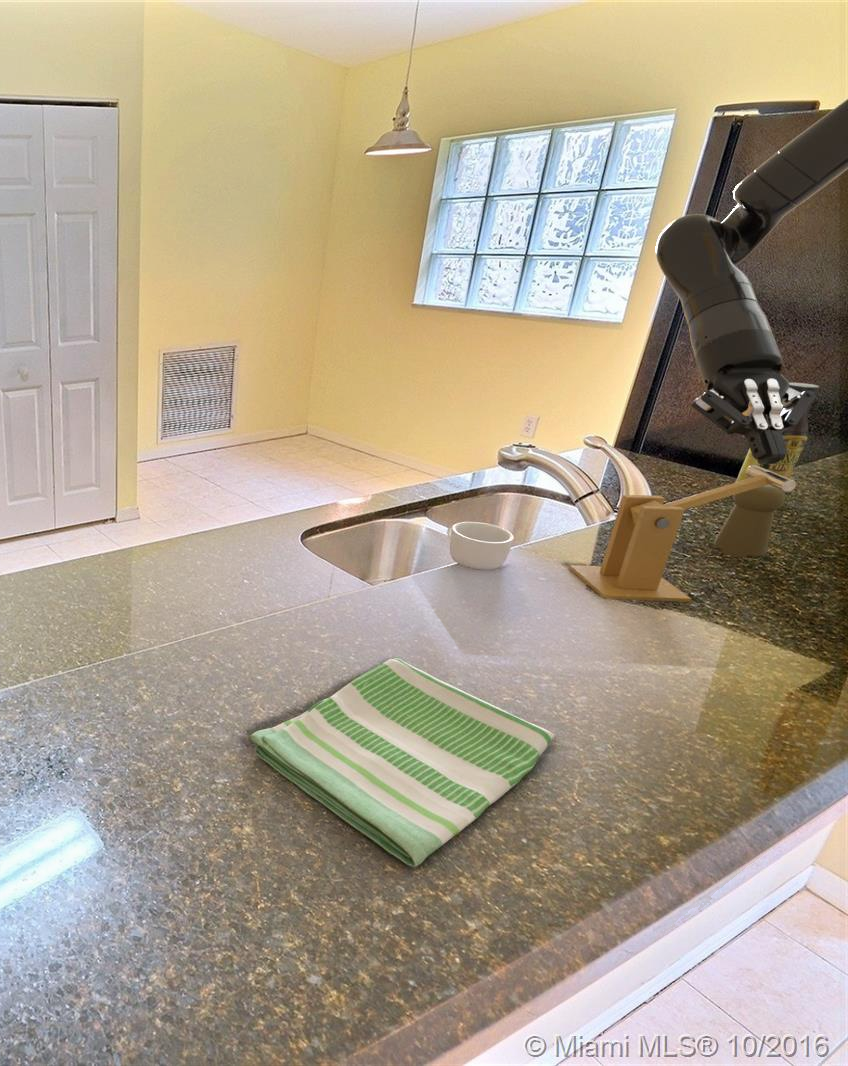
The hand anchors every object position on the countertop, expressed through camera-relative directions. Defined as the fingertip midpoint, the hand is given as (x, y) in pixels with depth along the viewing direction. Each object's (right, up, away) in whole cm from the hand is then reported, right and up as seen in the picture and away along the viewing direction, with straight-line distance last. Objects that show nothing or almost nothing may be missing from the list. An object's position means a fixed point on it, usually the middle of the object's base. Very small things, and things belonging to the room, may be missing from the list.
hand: (772, 460), depth 87 cm
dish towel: (-56, -30, -19) cm, 66 cm away
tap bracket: (-11, -17, +9) cm, 22 cm away
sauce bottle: (+35, -3, +37) cm, 51 cm away
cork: (+12, -12, +17) cm, 24 cm away
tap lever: (-6, -5, +3) cm, 8 cm away
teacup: (-27, -14, +18) cm, 35 cm away
